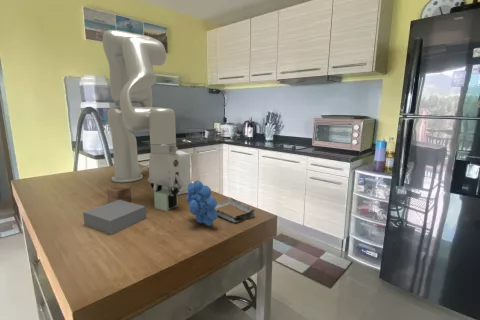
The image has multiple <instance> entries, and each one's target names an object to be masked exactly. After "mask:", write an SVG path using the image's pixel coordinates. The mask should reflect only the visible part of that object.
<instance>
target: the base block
mask: <svg viewBox="0 0 480 320" xmlns="http://www.w3.org/2000/svg"><path fill="white" fill-rule="evenodd" d="M82 215H83V222H84V224H83V225H84V226H87V227H88V228H91V229H94V230H97V231H100V232H103V233H105V234H108V235H114V234H116V233H118V232H120V231H123V230H124V229H126V228H129V227H131V226H133V225H135V224H137V223H140V222H142V221H143V220H145V219H147V210H146V206H145V205H141V204H137V203H133V202H126V201H122V200H117V201H114V202H111V203H106V204H104V205H103V204H102V205H100V206H97V207H94V208H92V209H88V210H86V211H83V212H82Z"/></svg>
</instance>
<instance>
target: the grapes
mask: <svg viewBox="0 0 480 320" xmlns="http://www.w3.org/2000/svg"><path fill="white" fill-rule="evenodd" d="M188 192H189V193H186V196H185V199H186V201H187V202H188V209H189V212H190V214H192V215H193V216H195V220H196V221H197V222H198V223H199V224H201V225H202V224H204V225H205V226H208V227H210V226H212V225H213V222H214V221H216V220H217V219H218V217H219V216H218V214H217V211H216V210H217V209H214V208H215V207H216V205H217V204H218V202H217V199H216V198H215V197H214V196H211V195H212V190H211V188H210V187H209V186H208V185H207V184H206V185H204V184H203V182H202V181H200V180H195V181H194V182H193V183H191V182H190V184H189V185H188Z"/></svg>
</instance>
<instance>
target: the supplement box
mask: <svg viewBox="0 0 480 320" xmlns="http://www.w3.org/2000/svg"><path fill="white" fill-rule="evenodd" d="M176 153H177V154H178V155H179V158H180V163H181V170H182V182H183V184H184V188H182V189H181V190H180V191H179V192H178V194H177V196H178V195H183V194H188V193H189V192H188V185H189V184H191V156H190V155H191V154H190V153H189V152H186V151H183V150H177V151H176ZM176 185H177V184H176ZM163 189H168V187H166V186H163V187H162V190H163ZM172 190H174V189H173V187H172Z"/></svg>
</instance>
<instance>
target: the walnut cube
mask: <svg viewBox="0 0 480 320" xmlns="http://www.w3.org/2000/svg"><path fill="white" fill-rule="evenodd" d="M106 192H107V202H108V203H111V202H114V201H117V200H122V201H126V202H130V203H132V193H131V187H130V186H125V185H123V184H122V185H116V186H112V187H110V188H106ZM108 203H107V204H108Z"/></svg>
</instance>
